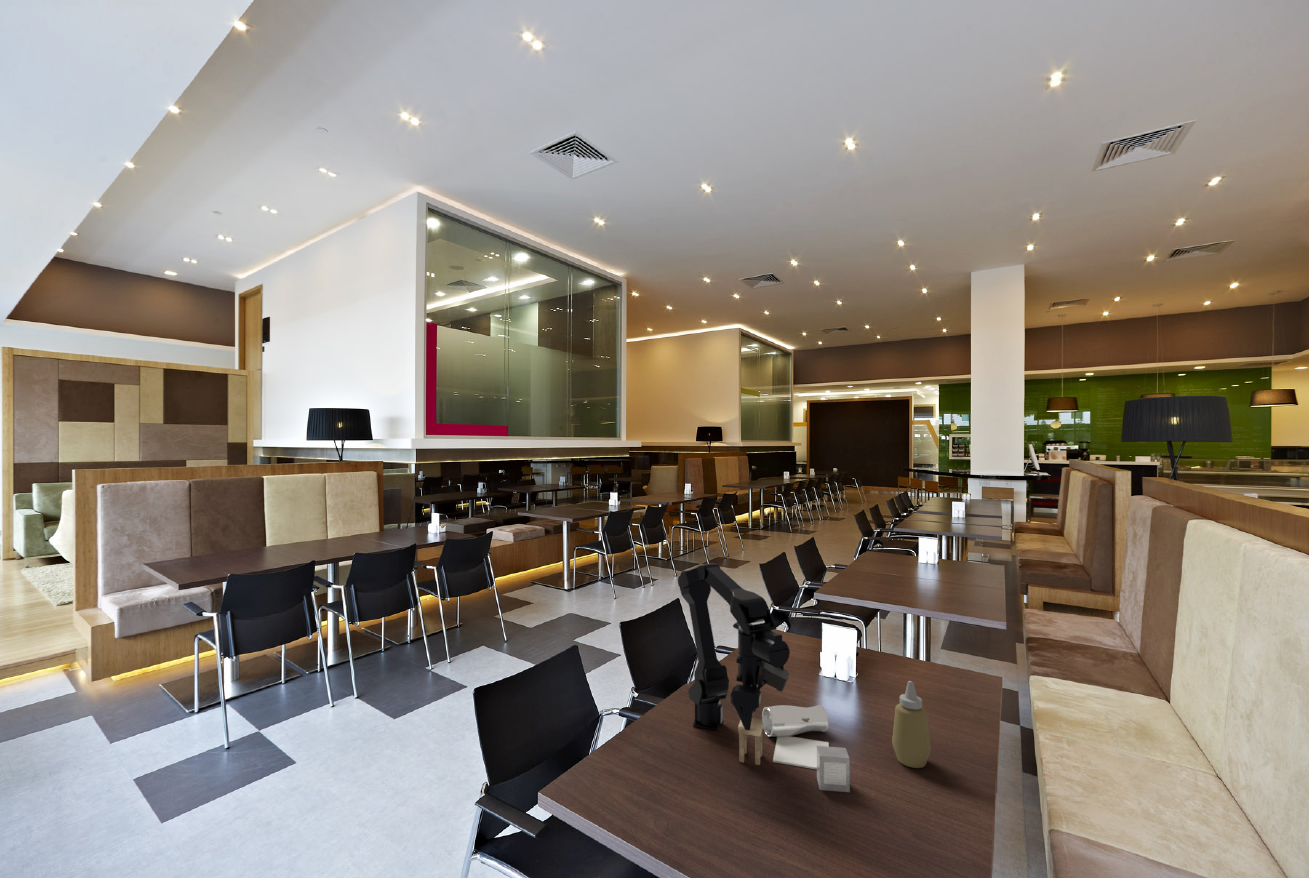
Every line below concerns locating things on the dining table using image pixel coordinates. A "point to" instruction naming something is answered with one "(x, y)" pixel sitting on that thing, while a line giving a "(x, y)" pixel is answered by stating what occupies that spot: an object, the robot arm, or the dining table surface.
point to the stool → (757, 732)
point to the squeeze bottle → (911, 730)
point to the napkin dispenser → (833, 769)
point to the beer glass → (793, 720)
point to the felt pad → (797, 751)
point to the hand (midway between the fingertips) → (750, 720)
